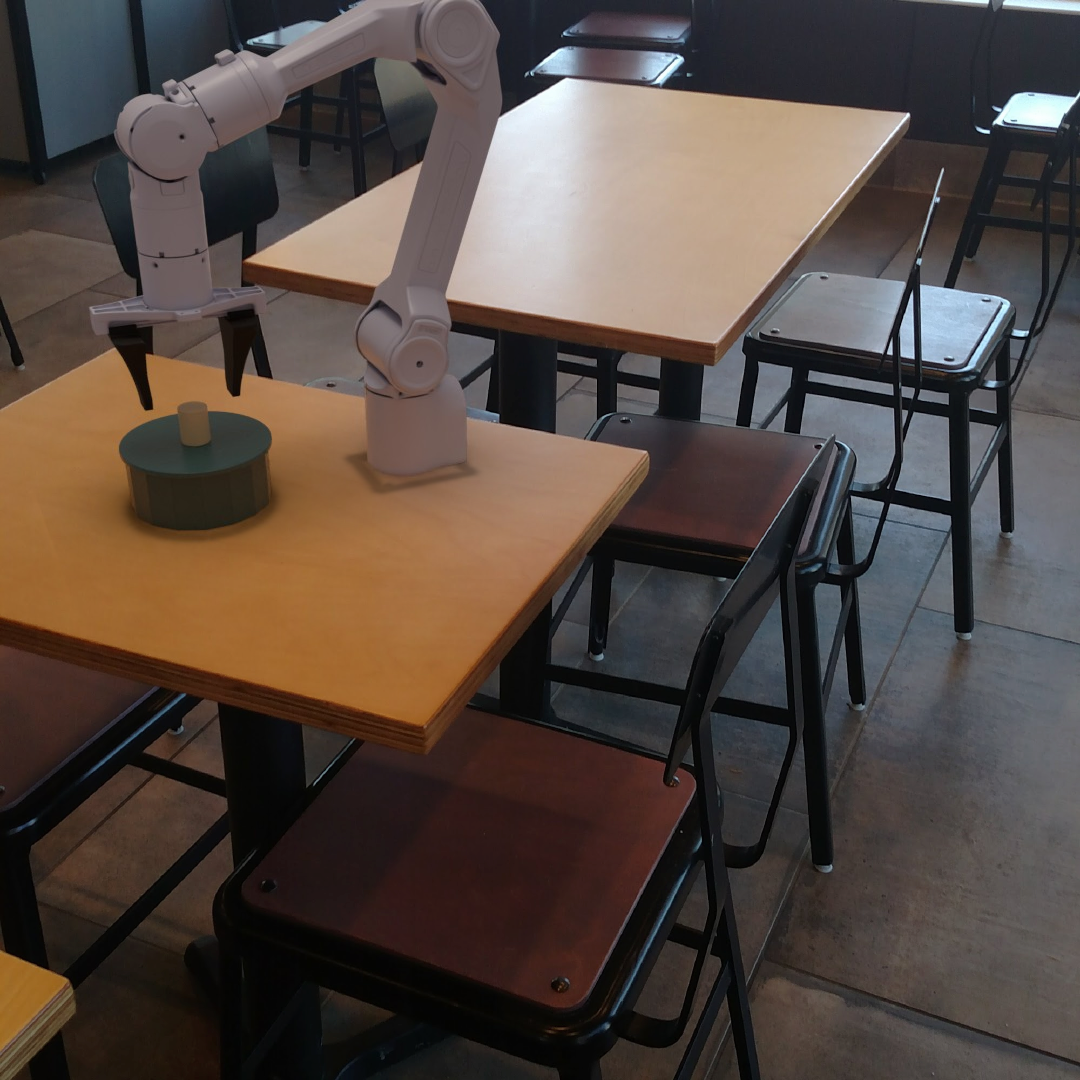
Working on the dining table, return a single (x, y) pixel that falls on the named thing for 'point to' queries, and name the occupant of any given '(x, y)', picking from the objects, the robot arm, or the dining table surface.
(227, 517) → the container
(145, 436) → the cover
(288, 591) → the dining table surface
